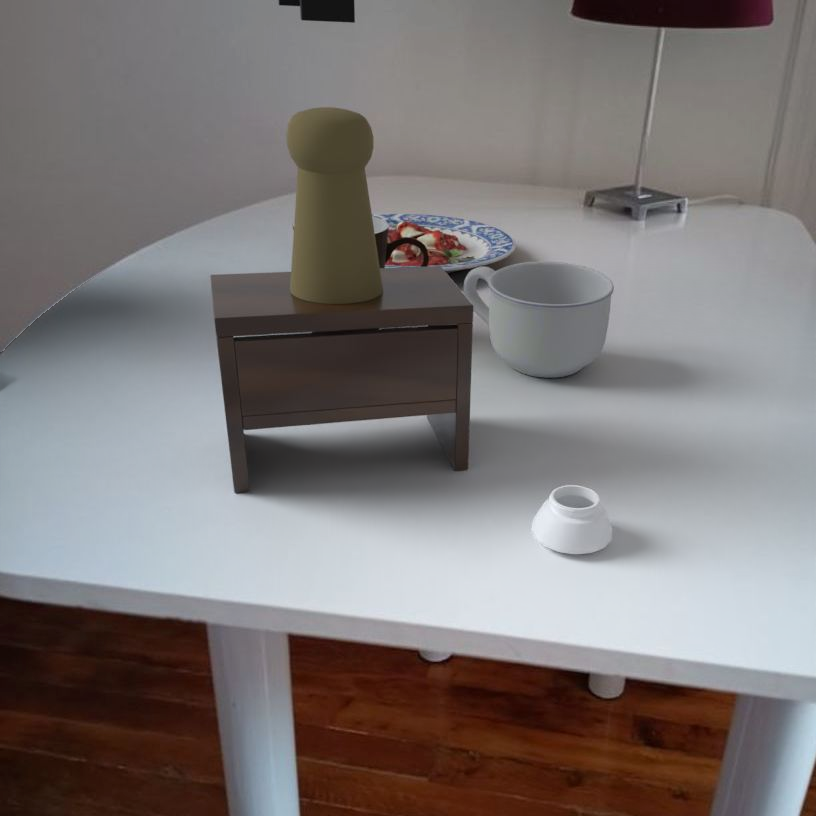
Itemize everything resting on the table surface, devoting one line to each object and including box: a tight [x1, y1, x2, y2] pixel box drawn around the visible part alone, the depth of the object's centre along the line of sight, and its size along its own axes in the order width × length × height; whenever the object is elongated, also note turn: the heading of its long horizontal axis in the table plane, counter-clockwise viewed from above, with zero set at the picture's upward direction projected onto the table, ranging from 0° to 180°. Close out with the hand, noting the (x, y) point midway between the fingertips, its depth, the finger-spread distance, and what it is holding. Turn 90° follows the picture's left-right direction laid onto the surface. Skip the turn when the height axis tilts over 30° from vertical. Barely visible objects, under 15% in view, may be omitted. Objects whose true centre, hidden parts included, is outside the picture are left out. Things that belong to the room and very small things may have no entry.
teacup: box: [463, 260, 615, 379], centre depth 81 cm, size 14×11×8 cm
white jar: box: [530, 484, 613, 555], centre depth 57 cm, size 5×3×5 cm
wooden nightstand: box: [209, 266, 474, 494], centre depth 63 cm, size 9×16×12 cm, turn 107°
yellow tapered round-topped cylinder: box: [285, 106, 383, 304], centre depth 57 cm, size 6×6×11 cm
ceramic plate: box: [372, 213, 517, 274], centre depth 110 cm, size 26×26×3 cm
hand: (312, 13), depth 53 cm, fingers open, 13 cm apart
